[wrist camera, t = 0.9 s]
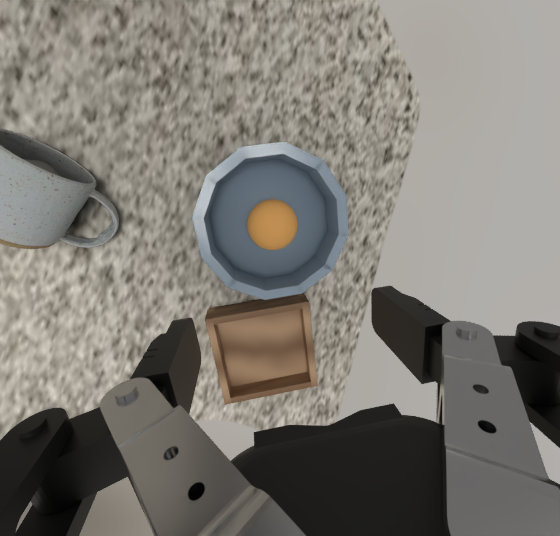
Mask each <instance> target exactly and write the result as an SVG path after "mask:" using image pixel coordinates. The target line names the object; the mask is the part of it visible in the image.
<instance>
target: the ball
mask: <svg viewBox="0 0 560 536" xmlns="http://www.w3.org/2000/svg"><path fill="white" fill-rule="evenodd" d="M247 228H248V233H249V235H250V237H251V239H252V240H253V241H254V243H255V244H257V245H258V246H259V247H261V248H263V249H267V250H279V249H282V248H284V247H286V246H287V245H289V244H290V243H291V242H292V240H293V239H294V237H295V235H296V233H297V228H298V221H297V217H296V214H295V212H294V211H293V209H292V208H291V207H290V206H289V205H288V204H286V203H285V202H283V201H281V200H277V199H268V200H264V201H262V202H260V203H258V204H257V205H256V206H255V207H254V208H253V209H252V210H251V212H250V214H249V217H248V221H247Z"/></svg>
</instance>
